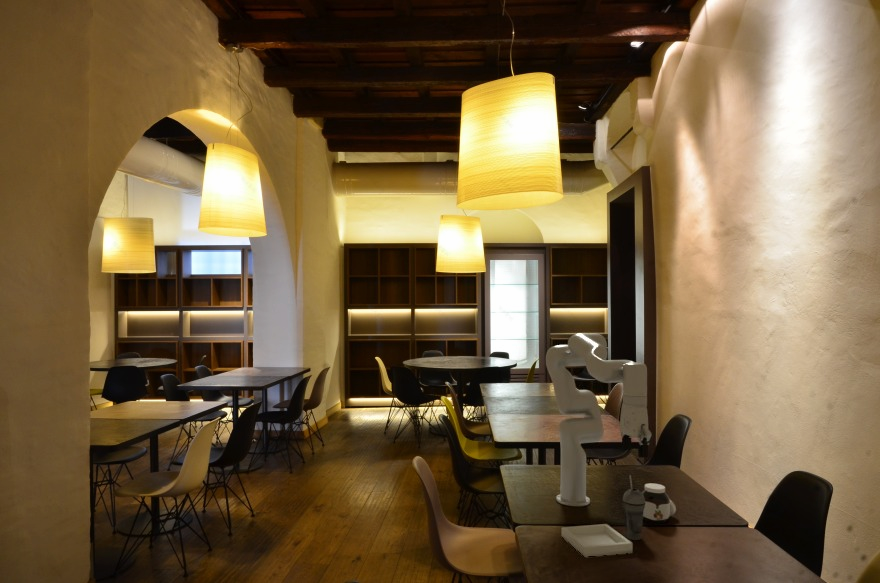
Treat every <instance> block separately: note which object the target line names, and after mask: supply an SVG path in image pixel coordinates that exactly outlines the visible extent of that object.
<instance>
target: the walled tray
mask: <svg viewBox="0 0 880 583" xmlns="http://www.w3.org/2000/svg"><path fill="white" fill-rule="evenodd" d="M561 536H562V537H563V538H564V540H565V542H567V543H568V542H569V543H570V544H571V545H572V546H573V547H574V548H575V549H576V551H577V550H578V551H579V552H580V553H581V554H582V555H583V556H584V557H585V558H589V557H588V556H596V557H604V556H603V555H607V556H617V555H616V554H618V555H626V553H628V554H633V547H634V546H633V545H634V544H633V542H632V541H631V540H630V539H629V538H627V537H625V536H623V535H622V534H621V533H619V532H618V531H617V530H615V528H613V527H611V525H609V524H608V523H602V524H591V525H590V524H588V525H575V526H574V525H573V526H566V527H565V526H564V527H563V526H562V527H561ZM562 537H561V538H562ZM563 538H562V539H563ZM569 543H568V544H569ZM570 544H569V545H570ZM571 545H570V546H571ZM572 546H571V547H572ZM573 547H572V548H573ZM574 548H573V549H574ZM575 549H574V550H575ZM578 551H577V552H578ZM579 552H578V553H579ZM580 553H579V554H580ZM581 554H580V555H581ZM582 555H581V556H582ZM583 556H582V557H583ZM584 557H583V558H584Z"/></svg>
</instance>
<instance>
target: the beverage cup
mask: <svg viewBox="0 0 880 583" xmlns="http://www.w3.org/2000/svg"><path fill="white" fill-rule="evenodd" d="M628 477H629V483H630V488H629V489H627V490H626V491H625V492H624V493H623V496H622V500H621V502H622V506H623V513H624V514H623V515H624V524H625V526H624V527H625V536H626V537H625V538H626V539H628V540H632V541H639V540H641V538H642V532H643V522H644V518H643V511H644V508H645V498H644V496H643V494H642V491H641V490H639V489H636V488H633V482H632V475H630V474H629V476H628Z"/></svg>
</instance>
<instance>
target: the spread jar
mask: <svg viewBox="0 0 880 583" xmlns="http://www.w3.org/2000/svg"><path fill="white" fill-rule="evenodd" d="M641 493H642V494H643V496H644V498H645V508H644V511H643V520H645V521H648V522H649V521H650V522H649V523H653V522H656V523H655V524H662V523H661V522H663V523H664V522H667V520H668V519H669V518H670V517H672V516H673V515H674V514H675V513H676V511H677V507H676V504H675V503H674V501H672V500H671V499H670V497H669V495H668V494H667V493H666V486H664V484H663V485H662V484H659V483H650V482H649V483H645V484H644V490H643V491H641Z"/></svg>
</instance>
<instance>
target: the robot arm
mask: <svg viewBox="0 0 880 583" xmlns="http://www.w3.org/2000/svg"><path fill="white" fill-rule="evenodd" d="M607 348H608V345H607V340H606V338H605V337H604V336H603V335H602V334H600V333H597V332H593V333H592V332H590V333H589V332H588V333H587V332H582V333H581V332H578V333H575V334H573V335H571V336H570V337H569V339H568V340H567V344H559V345H558V344H557V345H554V346H551V347H549V349H548V350H547V351H546V355H545V366H546V369H547V372H548V374H549V377H550V379H551V382H552V386H553V390H554V396H555V402H556V406H557V409H558V412H559V413H560V414H562V415H564V416H577V415H578V416H580V415H581V416H583V417H571V418H565V419H563V420H561V422H560V423H559V424H558V427H557V429H558V430H557V431H558V438H559V443H560V486H559V489H560V490H559V491H560V494H558V495H556V497H555V499H556V501H557V502H558V503H559V504H561V505H565V506H568V507H584V506H588V505H589V504H591V500H590V498H589V497H588V496H587V454H586V452H585V450H584V447H582V445H581V444H587V443H588V444H589V443H596V442H600V441H601V440H602V439H603V437H604V433H605V432H604V424H603V420H602V419H603V418H602V415H601V410H600V407H599V402H598V399H597V397H596V395H595V393H594V392H593V391H591V390H588V389H577V386H576V383H575V382H576V381H575V378H574V377H573V375H572V374H571V372H570V371H569V370H568V369H567V368H566V367H584V366H585V367H586V370H587V372H588V374H589V376H591V377H592V378H594V379H595V380H597V381H599V382H600V383H605V384H612V383H622V404H621V409H620V421H619V423H618V425H619V431H620V433H621V434H620V437H621V450H622V451H631V450H632V438H634V439H637V441H638V443H639V444H637V457H638V458H648V457H649V445H650V442H651V437H652V432H651V430H650V429H649V416H648V408H647V407H648V368H647V365H646V364H645V363H643V362H635V361H633V360H630V359H629V360H628V359H608V360H607V358H608V350H607Z"/></svg>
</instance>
